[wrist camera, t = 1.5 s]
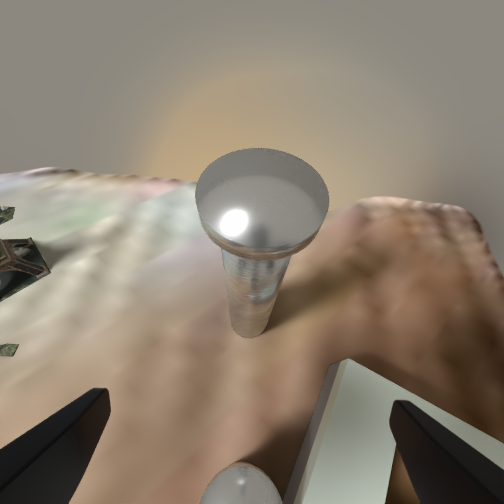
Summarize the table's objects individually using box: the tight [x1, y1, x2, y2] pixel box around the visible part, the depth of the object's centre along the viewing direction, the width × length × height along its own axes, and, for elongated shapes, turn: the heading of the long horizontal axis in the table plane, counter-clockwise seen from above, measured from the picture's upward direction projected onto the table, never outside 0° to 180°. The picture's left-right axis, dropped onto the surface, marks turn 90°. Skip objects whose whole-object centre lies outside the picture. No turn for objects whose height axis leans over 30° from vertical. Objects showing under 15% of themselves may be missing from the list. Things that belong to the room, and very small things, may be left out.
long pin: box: [195, 148, 329, 338], centre depth 15 cm, size 4×4×16 cm
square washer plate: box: [282, 358, 504, 504], centre depth 14 cm, size 10×13×4 cm
